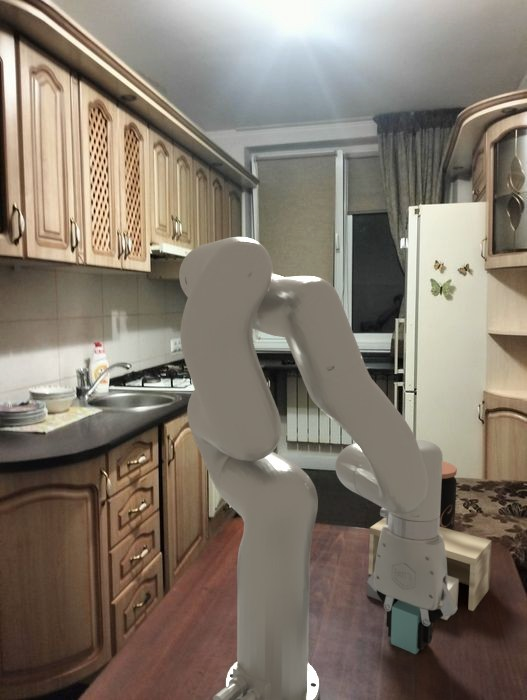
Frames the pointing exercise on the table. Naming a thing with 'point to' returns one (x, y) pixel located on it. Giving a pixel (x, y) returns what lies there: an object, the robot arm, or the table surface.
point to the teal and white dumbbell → (413, 620)
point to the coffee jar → (448, 496)
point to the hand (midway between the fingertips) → (408, 637)
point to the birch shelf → (454, 559)
